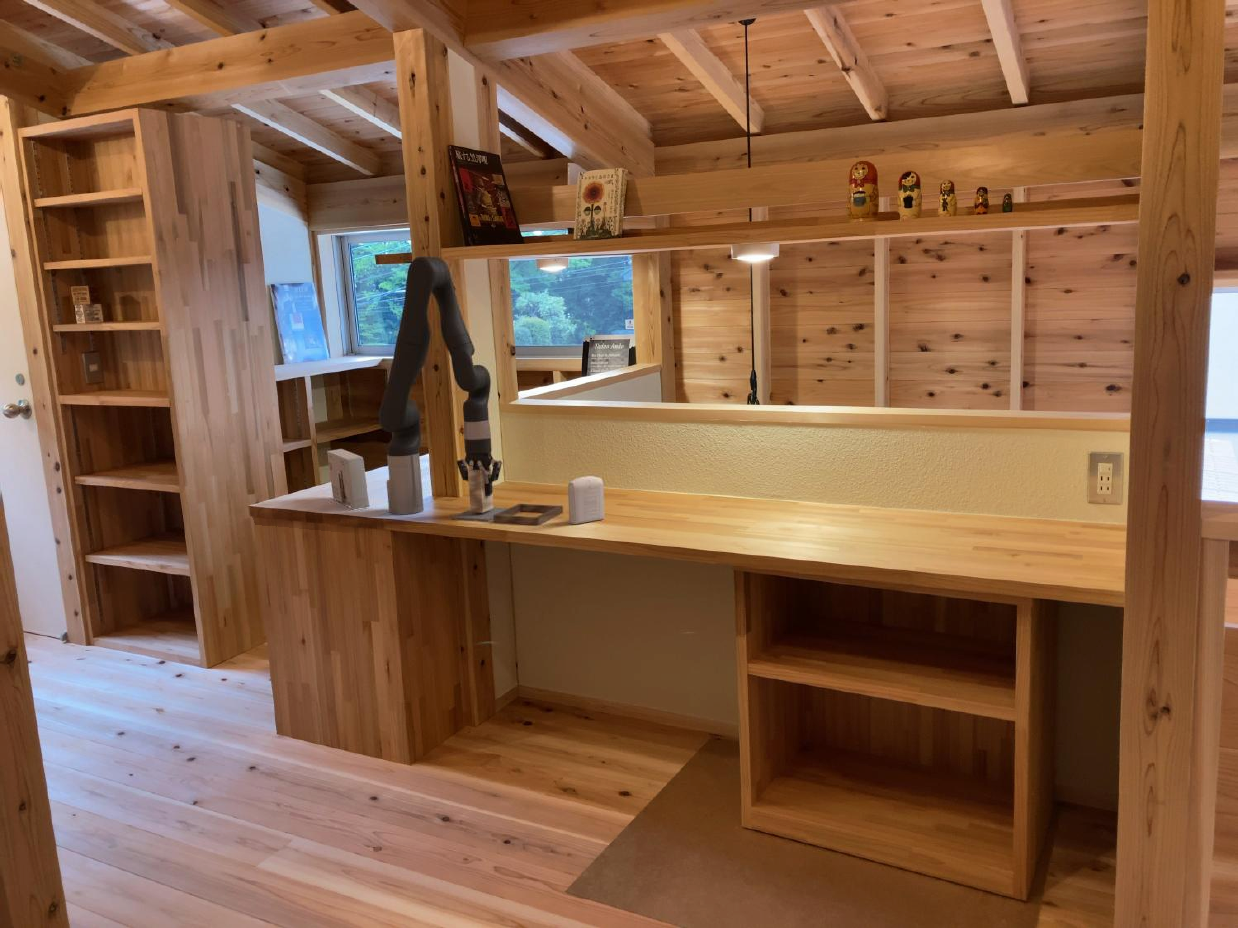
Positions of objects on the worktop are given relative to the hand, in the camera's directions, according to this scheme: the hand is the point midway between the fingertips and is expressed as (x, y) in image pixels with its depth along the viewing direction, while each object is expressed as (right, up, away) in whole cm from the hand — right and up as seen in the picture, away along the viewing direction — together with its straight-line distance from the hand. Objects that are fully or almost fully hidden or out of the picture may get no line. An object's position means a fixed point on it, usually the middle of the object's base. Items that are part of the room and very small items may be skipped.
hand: (481, 495), depth 275 cm
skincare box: (-44, -4, +24) cm, 51 cm away
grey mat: (0, -6, +1) cm, 6 cm away
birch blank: (0, -4, +1) cm, 4 cm away
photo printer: (+31, -7, -12) cm, 34 cm away
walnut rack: (+14, -6, -5) cm, 16 cm away
